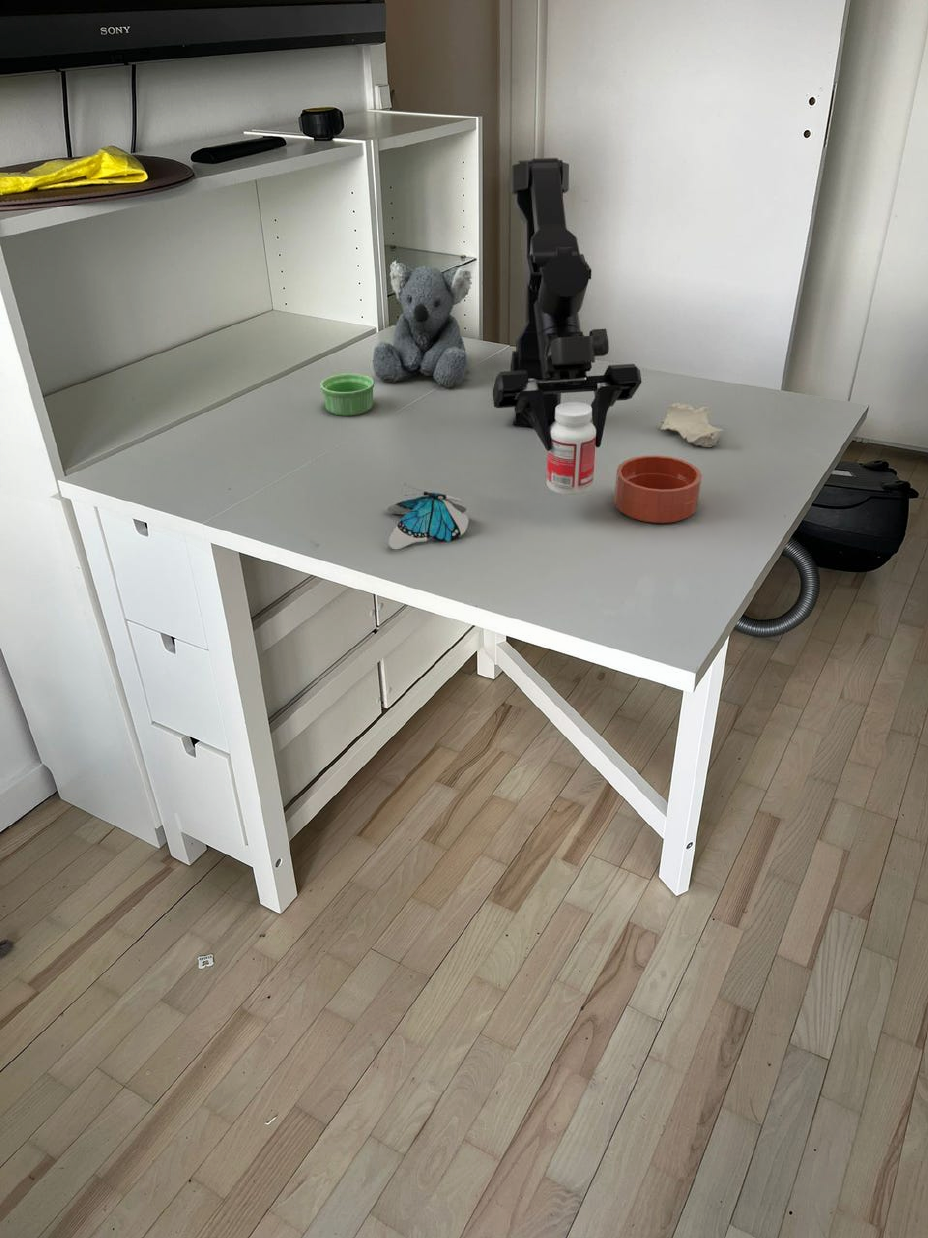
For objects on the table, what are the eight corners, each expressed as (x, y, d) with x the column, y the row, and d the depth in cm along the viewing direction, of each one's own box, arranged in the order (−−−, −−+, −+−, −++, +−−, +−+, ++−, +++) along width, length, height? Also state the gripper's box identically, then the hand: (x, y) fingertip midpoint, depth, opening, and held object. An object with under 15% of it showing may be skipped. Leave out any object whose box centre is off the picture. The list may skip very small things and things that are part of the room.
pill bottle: (586, 474, 131) (591, 397, 125) (597, 495, 126) (603, 415, 120) (541, 477, 130) (544, 400, 124) (551, 498, 125) (555, 419, 119)
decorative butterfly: (475, 517, 121) (398, 503, 119) (463, 561, 125) (387, 548, 123) (468, 482, 130) (395, 469, 128) (457, 524, 133) (386, 511, 131)
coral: (709, 452, 146) (713, 425, 144) (653, 433, 153) (655, 407, 150) (729, 441, 150) (733, 414, 147) (673, 423, 156) (676, 397, 153)
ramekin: (313, 413, 161) (310, 388, 159) (338, 395, 168) (336, 370, 166) (360, 420, 159) (358, 395, 156) (384, 401, 165) (383, 376, 163)
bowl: (607, 518, 129) (610, 485, 126) (621, 483, 138) (624, 451, 135) (691, 529, 126) (696, 495, 124) (700, 493, 135) (705, 460, 132)
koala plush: (369, 383, 173) (361, 272, 162) (397, 351, 187) (391, 247, 176) (462, 390, 169) (461, 277, 158) (483, 357, 184) (483, 251, 173)
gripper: (496, 308, 117) (510, 429, 115) (644, 301, 119) (662, 419, 117) (486, 350, 128) (499, 461, 126) (622, 342, 130) (637, 451, 127)
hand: (573, 448), depth 123 cm, fingers closed on pill bottle, 6 cm apart
